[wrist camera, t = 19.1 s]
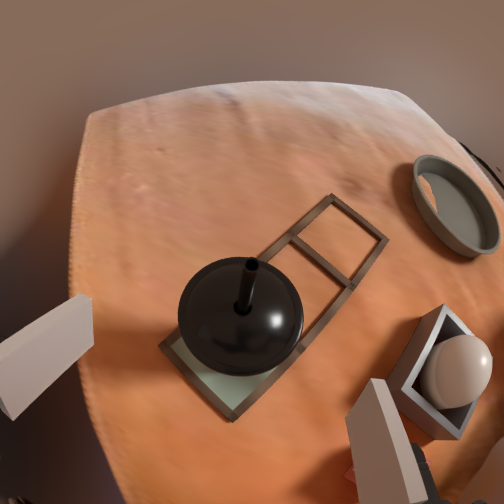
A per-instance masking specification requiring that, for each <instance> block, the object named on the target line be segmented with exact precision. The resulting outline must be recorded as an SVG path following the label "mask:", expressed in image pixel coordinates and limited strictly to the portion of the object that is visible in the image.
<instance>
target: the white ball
mask: <svg viewBox="0 0 504 504" xmlns="http://www.w3.org/2000/svg"><path fill="white" fill-rule="evenodd" d="M491 373H492V357H491V354H490V351H489V349H488V347H487V346H486V344H485V343H484V342H483V341H482V340H480V339H479V338H477V337H475V336H472V335H458V336H455V337H452V338H450V339H448V340H445V341H443V342H441V343H438V344H436V345H434V346H433V347H432V348H431V350H430V352H429V354H428V356H427V358H426V360H425V362H424V364H423V366H422V368H421V370H420V388H421V392H422V395H423V397H424V399H425V400H426V401H427V402H428V403H430V404H431V405H432V406H433V407H434V408H435V409H449V408H457V407H462V406H465V405H467V404H469V403H471V402H472V401H474V400H475V399H476V398H477V397H479V396H480V395H481V393H482V392H483V391H484V389H485V388H486V386H487V384H488V382H489V380H490V376H491Z"/></svg>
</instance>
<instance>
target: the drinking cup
mask: <svg viewBox="0 0 504 504" xmlns="http://www.w3.org/2000/svg"><path fill="white" fill-rule="evenodd" d="M303 322H304V314H303V307H302V303H301V299H300V297H299V294H298V292H297V290H296V289H295V287H294V285H293V284H292V283H291V281H290V280H289V279H288V278H287V277H286V276H285V275H284V274H283V273H282V272H281V271H280V270H278V269H277V268H275V267H274V266H272V265H270V264H268V263H266V262H264V261H261V260H258V259H257V258H254V257H249V258H248V257H231V258H225V259H221V260H218V261H215V262H213V263H211V264H209V265H207V266H205V267H204V268H202V269H201V270H200V271H199V272H197V273H196V274H195V275H194V276H193V277H192V279H191V280H190V281H189V282H188V284H187V285H186V287H185V289H184V291H183V293H182V295H181V298H180V302H179V307H178V324H179V329H180V333H181V336H182V338H183V340H184V342H185V344H186V346H187V348H188V349H189V351H190V352H191V353H192V354H193V355H194V357H195V358H196V359H197V360H199V361H200V362H201V363H202V364H204V365H205V366H206V367H208V368H210V369H212V370H214V371H216V372H218V373H221V374H224V375H229V376H235V377H248V376H255V375H259V374H262V373H265V372H267V371H270V370H272V369H273V368H275V367H277V366H278V365H280V364H281V363H282V362H283V361H285V360H286V359H287V358H288V357H289V356H290V354H291V353H292V352H293V350H294V349H295V347H296V346H297V344H298V341H299V339H300V336H301V333H302V329H303Z"/></svg>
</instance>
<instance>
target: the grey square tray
mask: <svg viewBox="0 0 504 504" xmlns="http://www.w3.org/2000/svg"><path fill="white" fill-rule="evenodd" d="M458 335H472V336H475V335H474V334H473V333H472V332H471V331H470V330H469V329H468V328H467V327H466V325H465V324H464V323H463V322H462V321H461V320H460V319H459V318H458V317H457V316H456V315H455V314H454V313H453V312H452V311H451V309H450V308H449V307H448V306H447V305H446V304H445V303H444V304H442V305H440V306H439V307H437V308H436V309H434V310H432V311H431V312H429V313H427V314H425V315H424V316H422V318H421V320H420V322H419V324H418V326H417V328H416V330H415V332H414V334H413V336H412V338H411V340H410V341H409V343H408V345H407V347H406V348H405V350H404V352H403V354H402V355H401V357H400V359H399V360H398V362H397V364H396V365H395V367H394V369H393V370H392V372H391V373H390V375H389V377H388V378H387V380H386V381H385V382H386V384H387V387H388V389H389V391H390V394H391V396H392V399H393V401H394V403H395V406H396V408H397V409H398V410H399V411H400V412H401V413H402V414H404V415H405V416H406V417H407V418H408V419H410V420H411V421H412V422H413V423H414V424H416V425H417V426H418V427H419V428H421V429H422V430H423V431H424V432H425V433H427V434H428V435H429V436H430V437H432V438H433V439H434V440H460V438H461V436H462V434H463V432H464V430H465V428H466V426H467V424H468V422H469V420H470V418H471V415H472V413H473V411H474V409H475V406H476V404H477V402H478V399H479V397H480V396H479V397H477V398H476V399H475V400H474V401H472V402H471V403H469V404H467V405H465V406H462V407H457V408H449V409H446V411H445V413H444V415H442V414H441V413H440V412H438V411H437V410H436V409H435V408H434V407H433V406H432V405H431V404H430V403H428V402H427V401H426V400H425V399H424V398H423V397H422V396H421V395H419V394H418V393H417V392H416V391H415V390H414V389H413V388H412V387H411V386H412V384H413V382H414V381H415V379H416V377H417V375H418V373H419V372H420V370H421V368H422V366H423V364H424V362H425V360H426V358H427V356H428V354H429V352H430V350H431V348H432V346H433V344H434V342H435V340H436V337H437V338H438V339H439V340H440V341H441V342H443V341H445V340H448V339H450V338H452V337H455V336H458ZM491 357H492V355H491ZM492 360H493V357H492Z"/></svg>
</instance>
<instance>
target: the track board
mask: <svg viewBox="0 0 504 504" xmlns="http://www.w3.org/2000/svg"><path fill="white" fill-rule="evenodd" d="M331 203H334V204H335V205H336V206H337V207H339V208H340V209H341V210H343V211H344V212H345V213H346V214H348V215H349V216H350V217H351V218H353V219H354V220H355V221H356V222H358V223H359V224H360V225H361V226H363V227H364V228H365V229H366V230H367V231H369V232H370V233H371V234H372V235H373V236H375V237H376V238H377V239H378V240H379V241H380V243H379V244H378V245H377V247H376V248H375V250H374V251H373V252H372V254H371V255H370V257H369V258H368V259H367V261H366V262H365V263H364V265H363V266H362V267H361V269H360V270H359V271H358V273H357V274H356V275H355V277H354V278H353V279H352V280H351V281H350V280H349V279H348V278H346V277H345V276H344V275H343V274H342V273H341V272H340V271H338V270H337V269H336V268H335V267H334V266H333V265H331V264H330V263H329V262H328V261H327V260H325V259H324V258H323V257H322V256H321V255H320V254H318V253H317V252H316V251H315V250H314V249H312V248H311V247H310V246H309V245H308V244H306V243H305V242H304V241H303V240H302V239H300V238H299V237H298V236H297V235H298V234H299V233H300V232H301V231H302V230H303V229H304V228H305V227H306V226H307V225H309V224H310V223H311V222H312V221H313V220H314V219H315V218H316V217H317V216H318V215H319V214H320V213H321V212H323V211H324V210H325V209H326V208H327V207H328V206H329V205H330V204H331ZM289 242H291V243H293V244H294V245H295V246H296V247H297V248H299V249H300V250H301V251H302V252H303V253H304V254H306V255H307V256H308V257H309V258H310V259H312V260H313V261H314V262H315V263H316V264H317V265H319V266H320V267H321V268H322V269H323V270H324V271H326V272H327V273H328V274H329V275H330V276H331V277H333V278H334V279H335V280H336V281H337V282H338V283H339V284H341V285H342V286H343V287H344V288H345V289H344V291H343V292H342V293H341V294H340V296H339V297H338V298H337V299H336V301H335V302H334V303H333V304H332V305H331V307H330V308H329V309H328V310H327V311H326V313H325V314H324V315H323V316H322V317H321V318H320V320H319V321H318V322H317V323H316V324H315V325H314V327H313V328H312V329H311V330H310V331H309V332H308V333H307V335H306V336H305V337H304V338H303V339H302V340H301V341H300V342H299V341H298V344H297V346H296V347H295V349H294V350H293V352H292V353H291V354H290V356H289V357H288V358H287V359H286V360H285V361H283V362H282V363H281V364H280V365H278V366H277V367H275V368H273V369H272V370H270V371H267V372H265V373H262V374H259V375H255V376H248V377H235V376H229V375H224V374H221V373H218V372H216V371H214V370H212V369H210V368H208V367H206V366H205V365H204V364H202V363H201V362H200V361H199V360H197V359H196V358H195V357H194V355H193V354H192V353H191V352H190V351H189V349H188V348H187V346H186V344H185V342H184V340H183V338H182V336H181V333H180V329H179V328H177V329H176V330H175V331H174V332H173V333H172V334H170V335H169V336H168V337H167V338H166V339H165V340H163V341H162V342H161V343H160V344H159V345H158V346H159V348H160V349H161V350H162V351H163V352H164V353H165V355H166V356H167V357H168V358H169V359H170V360H171V361H172V362H173V364H174V365H175V366H176V367H177V368H178V369H179V370H180V371H181V372H182V373H183V375H184V376H185V377H186V378H187V379H188V380H189V381H190V382H191V383H192V384H193V385H194V386H195V387H196V388H197V389H198V390H199V391H200V392H201V393H202V394H203V395H204V396H205V397H206V398H207V399H208V400H209V401H210V402H211V403H212V404H213V405H214V406H215V407H216V408H217V409H218V410H219V411H220V412H221V413H222V414H223V415H225V416H226V417H227V418H228V419H229V420H230V421H231V422H232V423H233V422H234V421H236V420H237V419H238V418H239V417H240V416H241V415H242V414H243V413H244V412H245V411H246V410H247V409H248V408H249V407H251V406H252V405H253V404H254V403H255V402H256V401H257V400H258V399H259V398H260V397H261V396H262V395H263V394H264V393H265V392H266V391H267V390H268V389H269V388H270V387H271V386H272V385H273V384H274V383H275V382H276V381H277V380H278V379H279V378H280V376H281V375H282V374H283V373H284V372H285V371H286V370H287V369H288V368H289V367H290V366H291V365H292V364H293V363H294V362H295V360H296V359H297V358H298V357H299V356H300V355H301V354H302V353H303V352H304V350H305V349H306V348H307V347H308V346H309V345H310V344H311V342H312V341H313V340H314V339H315V338H316V337H317V335H318V334H319V333H320V332H321V331H322V330H323V328H324V327H325V326H326V325H327V324H328V322H329V321H330V320H331V319H332V317H333V316H334V315H335V314H336V313H337V311H338V310H339V309H340V308H341V306H342V305H343V304H344V302H345V301H346V300H347V299H348V297H349V296H350V295H351V293H352V292H353V291H354V289H355V288H356V287H357V285H358V284H359V283H360V281H361V280H362V279H363V277H364V276H365V275H366V273H367V272H368V270H369V269H370V268H371V266H372V265H373V263H374V262H375V261H376V259H377V258H378V256H379V255H380V253H381V252H382V250H383V249H384V247H385V246H386V245H387V243H388V242H389V239H388V238H387V237H386V236H385V235H384V234H382V233H381V232H380V231H379V230H378V229H376V228H375V227H374V226H373V225H372V224H370V223H369V222H368V221H367V220H366V219H364V218H363V217H362V216H361V215H359V214H358V213H357V212H356V211H354V210H353V209H352V208H350V207H349V206H348V205H347V204H345V203H344V202H343V201H341V200H340V199H339V198H338V197H336V196H335V195H334V194H332V193H331V194H330V195H329V196H328V197H327V198H326V199H324V200H323V201H322V202H321V203H320V204H319V205H318V206H317V207H316V208H314V209H313V210H312V211H311V212H310V213H309V214H308V215H307V216H305V217H304V218H303V219H302V220H301V221H300V222H299V223H297V224H296V225H295V226H294V227H293V228H292V229H291V230H290V231H288V232H287V233H286V234H285V235H284V236H283V237H282V238H281V239H279V240H278V241H277V242H276V243H275V244H274V245H273V246H271V247H270V248H269V249H268V250H267V251H266V252H265V253H264V254H262V255H261V256H260V257H259V258H258V260H261V261H264V262H266V263H267V262H268V261H269V260H270V259H271V258H273V257H274V256H275V255H276V254H277V253H278V252H279V251H280V250H281V249H282V248H284V247H285V246H286V245H287V244H288V243H289Z"/></svg>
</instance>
